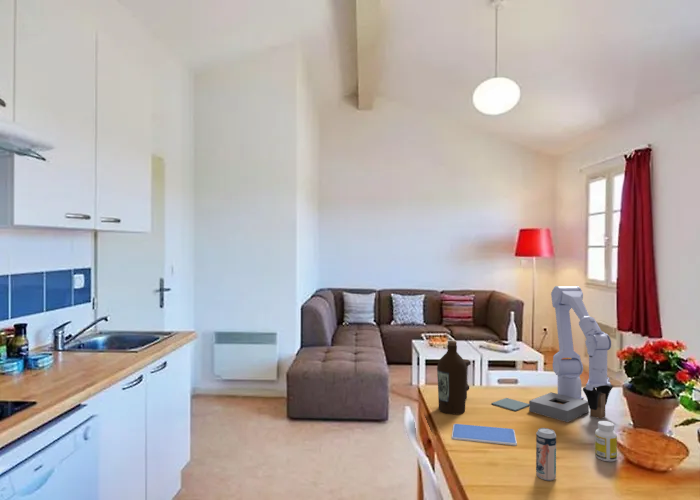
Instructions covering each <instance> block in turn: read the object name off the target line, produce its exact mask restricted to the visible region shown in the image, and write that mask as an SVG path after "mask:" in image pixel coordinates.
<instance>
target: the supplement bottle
mask: <svg viewBox="0 0 700 500" xmlns="http://www.w3.org/2000/svg"><path fill="white" fill-rule="evenodd" d="M614 429H615V424H614V423H613V422H612V421H611V422H610V421H607V420H599V421H598V422H597V429H596V430H595V433H594V451H595V452H594V455H595V457H596V459H598V460H601V461H603V462H615V461H617V459H618V454H617V453H618V451H617V450H618V449H617V448H618V442H617V441H618V440H617V439H618V435H617V432H616V431H615V430H614Z"/></svg>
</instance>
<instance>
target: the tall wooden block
mask: <svg viewBox="0 0 700 500" xmlns="http://www.w3.org/2000/svg"><path fill="white" fill-rule="evenodd" d="M589 413H590V415H589V416H590V417H592V418H596V419H600V420H602V419H603V418H605V417H606V405H605V394H604V393H601V394H600V396H599V399H598V406H597V410H593V409H590V408H589Z"/></svg>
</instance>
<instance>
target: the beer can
mask: <svg viewBox="0 0 700 500" xmlns="http://www.w3.org/2000/svg"><path fill="white" fill-rule="evenodd" d="M535 433H536V434H535V435H536V436H535V438H536V439H535V443H536V444H535V445H536V447H535V454H536V455H535V458H536V459H535V474H536V476H537V477H538V478H539V479H541V480H543V481H553V480H556V478H557V434H556V432H555V430H553V429H552V428H548V427H541V428H538V429H537V431H536V432H535Z"/></svg>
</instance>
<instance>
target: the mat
mask: <svg viewBox="0 0 700 500" xmlns="http://www.w3.org/2000/svg"><path fill="white" fill-rule="evenodd" d="M491 405H493V406H496V407H500V408H501V409H502V408H503V409H506V410H510V411H514V412H518V411H521V410H523V409H525V408H527V407H529V403H527V402H523V401H520V400H516V399H512V398H509V397H505V398H501V399H499V400H497V401H493V402H491Z"/></svg>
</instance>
